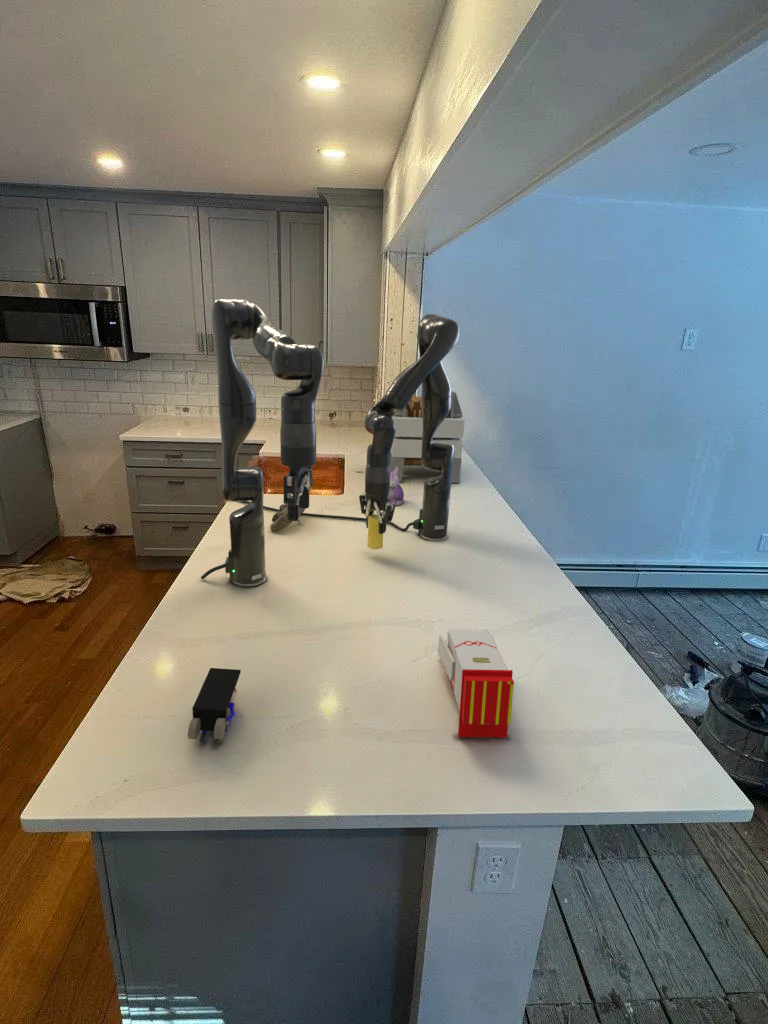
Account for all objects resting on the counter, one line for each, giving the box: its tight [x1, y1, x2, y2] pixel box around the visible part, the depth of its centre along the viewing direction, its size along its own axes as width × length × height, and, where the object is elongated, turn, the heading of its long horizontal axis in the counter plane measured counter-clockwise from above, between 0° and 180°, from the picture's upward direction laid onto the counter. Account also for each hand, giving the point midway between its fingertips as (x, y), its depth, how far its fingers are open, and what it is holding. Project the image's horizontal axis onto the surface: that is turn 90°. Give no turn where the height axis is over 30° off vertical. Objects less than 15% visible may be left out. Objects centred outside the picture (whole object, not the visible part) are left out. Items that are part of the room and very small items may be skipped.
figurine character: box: [187, 667, 241, 744], centre depth 105 cm, size 7×8×15 cm
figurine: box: [388, 466, 405, 506], centre depth 229 cm, size 9×10×15 cm
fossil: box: [270, 495, 306, 533], centre depth 203 cm, size 22×10×15 cm
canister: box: [366, 513, 384, 550], centre depth 177 cm, size 5×5×10 cm
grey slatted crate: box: [390, 390, 465, 484], centre depth 268 cm, size 34×33×41 cm
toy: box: [437, 628, 515, 738], centre depth 117 cm, size 12×13×30 cm
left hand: (299, 513), depth 125 cm, fingers open, 8 cm apart
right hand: (375, 530), depth 177 cm, fingers closed on canister, 5 cm apart
